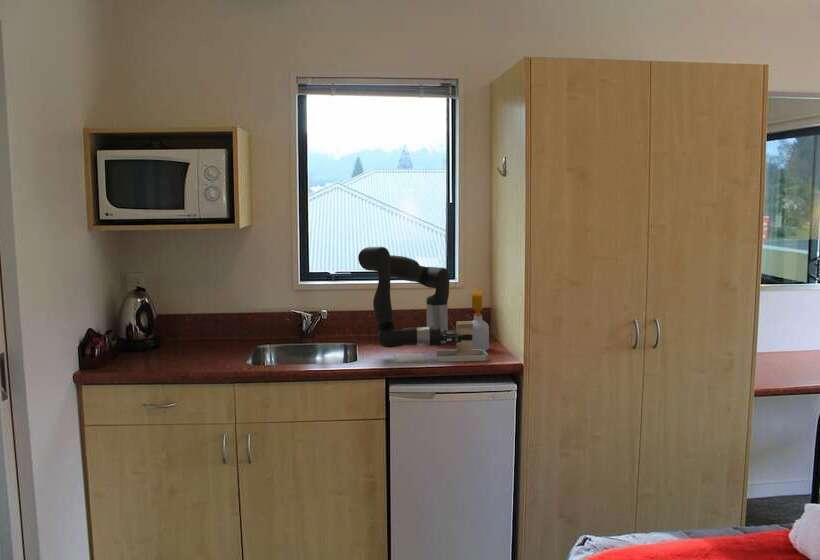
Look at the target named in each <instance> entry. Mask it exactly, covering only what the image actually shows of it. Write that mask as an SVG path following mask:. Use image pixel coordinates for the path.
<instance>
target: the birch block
mask: <svg viewBox="0 0 820 560" xmlns="http://www.w3.org/2000/svg"><path fill="white" fill-rule="evenodd" d="M471 321H472V320H469V321H468V320H467V321H466V320H461V321H459V320H458V321H456V323H455V324H456V326H455V330H456V333H457V334H462V336H463V335H472V340H462V341H461V342H455V350H456V354H457V355H473V323H472V322H471ZM457 339H458V337H457Z"/></svg>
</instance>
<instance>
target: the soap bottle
mask: <svg viewBox="0 0 820 560" xmlns="http://www.w3.org/2000/svg"><path fill="white" fill-rule="evenodd" d="M483 294H484V291H483V290H473V292H472V295H471V308H472V310H474V311H475V313H474V314H473V320H470V321H471V322H472V323H473V349H485V351H486V352H487V351H489V348H490V327H489V324H488V323H487V322H486V321H485V320H483V314H482V313H481V312H482V310H483V309H484V306H483Z"/></svg>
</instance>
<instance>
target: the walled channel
mask: <svg viewBox="0 0 820 560" xmlns="http://www.w3.org/2000/svg"><path fill="white" fill-rule="evenodd" d="M436 356H438V358H437V359H438V362H439V361H440V362H476V361H478V362H480V361H481V362H484V361H489V360H490V359H489V358H490V356H489V354H488V352H487V350H486V351H485V349H473V355H457V354H456V349H436Z"/></svg>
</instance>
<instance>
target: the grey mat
mask: <svg viewBox="0 0 820 560" xmlns="http://www.w3.org/2000/svg"><path fill="white" fill-rule="evenodd" d="M425 355H426V354H425V353H408V354H404V353H401V354H397V353H395V354H394V363H426V362H427V360H426V356H425Z"/></svg>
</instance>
